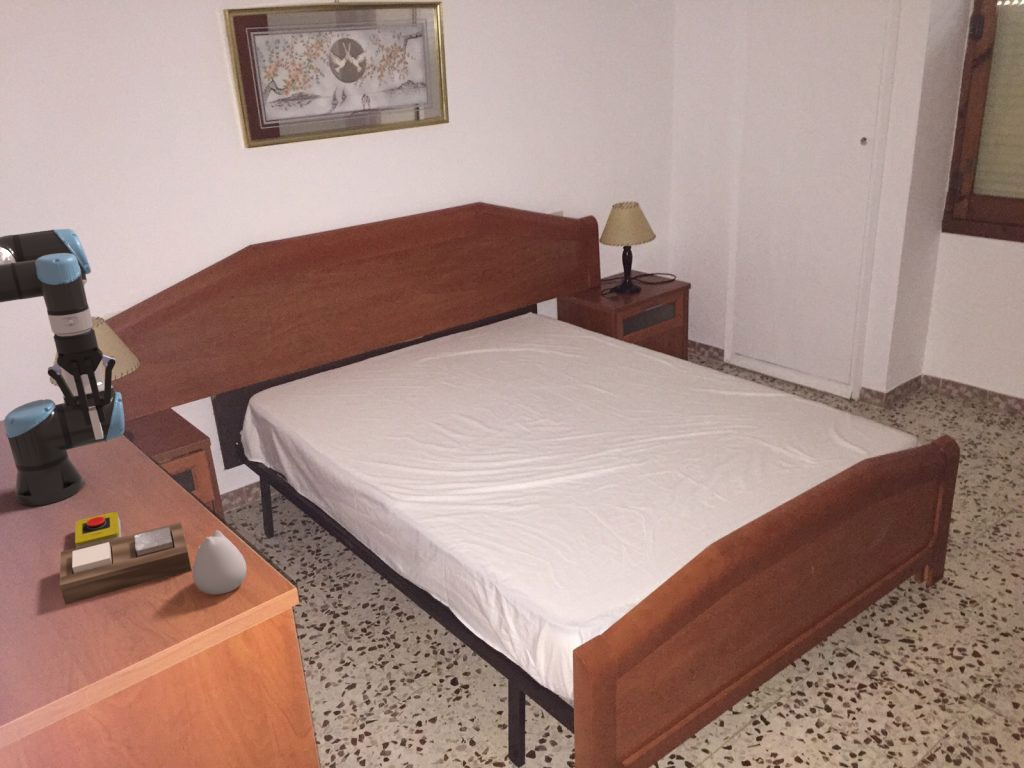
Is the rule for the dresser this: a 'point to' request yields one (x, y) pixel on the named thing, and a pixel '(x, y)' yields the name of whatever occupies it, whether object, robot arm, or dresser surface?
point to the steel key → (153, 542)
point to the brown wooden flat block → (123, 567)
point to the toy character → (218, 565)
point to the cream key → (91, 557)
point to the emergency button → (97, 529)
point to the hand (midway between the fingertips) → (99, 436)
